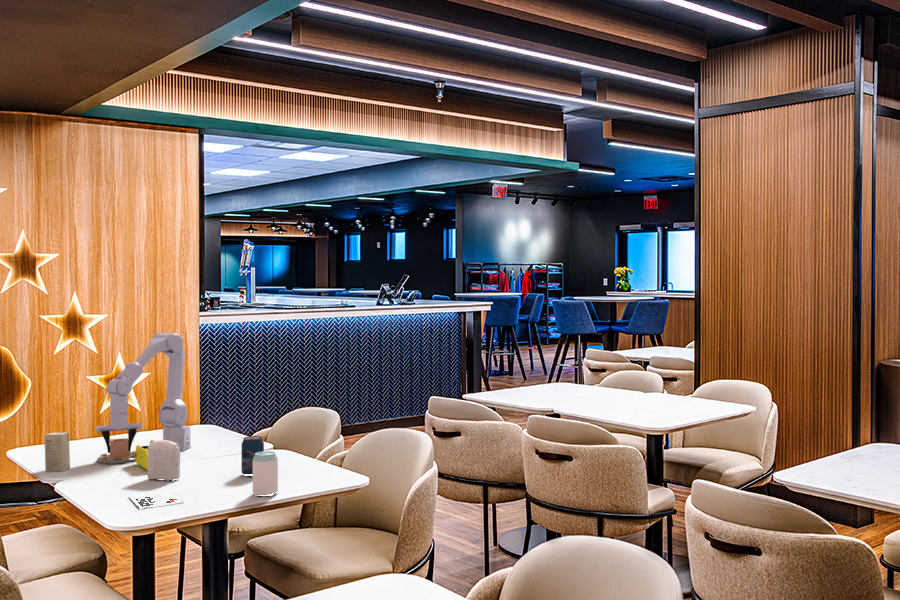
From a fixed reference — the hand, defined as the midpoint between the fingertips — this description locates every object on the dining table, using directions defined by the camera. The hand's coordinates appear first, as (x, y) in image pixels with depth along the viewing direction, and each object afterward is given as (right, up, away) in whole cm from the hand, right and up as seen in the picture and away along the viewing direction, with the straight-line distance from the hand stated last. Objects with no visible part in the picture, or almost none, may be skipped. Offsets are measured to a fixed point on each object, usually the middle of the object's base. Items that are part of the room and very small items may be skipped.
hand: (119, 451), depth 263 cm
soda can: (+53, -3, -23) cm, 58 cm away
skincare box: (-14, -3, -15) cm, 21 cm away
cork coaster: (+3, -3, +12) cm, 13 cm away
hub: (0, -3, 0) cm, 3 cm away
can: (+63, -3, -47) cm, 79 cm away
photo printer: (+27, -3, -29) cm, 40 cm away
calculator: (+34, -4, -53) cm, 63 cm away
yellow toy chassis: (+15, -3, -11) cm, 19 cm away
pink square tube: (0, -2, 0) cm, 2 cm away
